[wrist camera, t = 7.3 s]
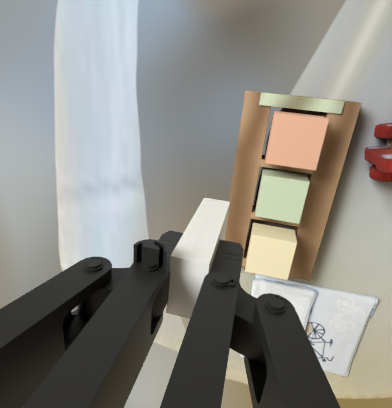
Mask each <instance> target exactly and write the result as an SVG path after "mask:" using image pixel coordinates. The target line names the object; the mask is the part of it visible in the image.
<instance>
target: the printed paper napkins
mask: <svg viewBox="0 0 392 408" xmlns="http://www.w3.org/2000/svg"><path fill="white" fill-rule="evenodd" d="M268 293H272V294H277V295H280V296H282V297H284V298H286V299H287V300H288V301H290V302H291V303H292V305H293V306H294V308H295V310H296V312H297V314H298V316H299V319H300V321H301V323H302V325H303V327H304V330H305V329H306V325H307V322H308V321H309V322H310V323H311V325H312V327H313V332H312V333H311V334H309V335H308V338H309V341H310V343H311V345H312V347H313V349H314V351H315V354H316V356H317V358H318V360H319V362H320V365H321V367H322V369H323V371H326V372H331V373H334V374H337V375H341V376H348V375H349V370H350V366H351V363H352V360H353V357H354V355H355V352H356V350H357V347H358V344H359V342H360V339H361V337H362V334H363V331H364V329H365V326H366V324H367V321H368V319H369V317H371V316H372V314H373V312H374V310H375V308H376V306H377V305H378V299H377V297H373V296H367V295H361V294H354V293H349V292H343V291H338V290H333V289H329V288H324V287H319V286H315V285H310V284H306V283H301V282H297V281H292V280H284V279H280V278H275V277H270V276H265V275H260V274H256V277H255V279H254V280H253V285H252V292H251V296H253V297H255V298H258V297H259V296H260V295H262V294H268ZM370 314H371V316H370ZM240 356H241V357H242V358H244V356H243V355H242V354H241V355H240Z"/></svg>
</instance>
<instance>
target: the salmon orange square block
mask: <svg viewBox="0 0 392 408" xmlns="http://www.w3.org/2000/svg"><path fill="white" fill-rule="evenodd" d="M328 121H329V119H328V118H326V117H324V116H317V115H308V114H299V113H290V112H281V111H274V114H273V120H272V125H271V130H270V135H269V141H268V146H267V151H266V157H265V163H267V164H274V165H281V166H288V167H294V168H301V169H308V170H315V171H316V168H317V164H318V160H319V156H320V152H321V149H322V145H323V141H324V137H325V133H326V129H327V125H328Z"/></svg>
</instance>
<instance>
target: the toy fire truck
mask: <svg viewBox="0 0 392 408" xmlns="http://www.w3.org/2000/svg"><path fill="white" fill-rule="evenodd" d="M374 136H375V137H376V138H379V139H388V140H387V145H386V146H378V147H368V148H365V160H367V161H369V162H370V163H372V164H374V165H372V166H371V167H370V173H369V176H370V178H372V179H374V180H378V181H386V182H392V123H386V124H379V125H377V126H376V127H375V132H374Z"/></svg>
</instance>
